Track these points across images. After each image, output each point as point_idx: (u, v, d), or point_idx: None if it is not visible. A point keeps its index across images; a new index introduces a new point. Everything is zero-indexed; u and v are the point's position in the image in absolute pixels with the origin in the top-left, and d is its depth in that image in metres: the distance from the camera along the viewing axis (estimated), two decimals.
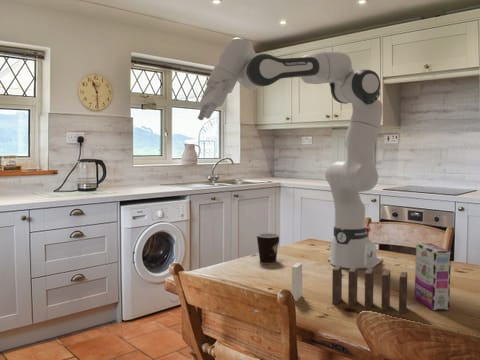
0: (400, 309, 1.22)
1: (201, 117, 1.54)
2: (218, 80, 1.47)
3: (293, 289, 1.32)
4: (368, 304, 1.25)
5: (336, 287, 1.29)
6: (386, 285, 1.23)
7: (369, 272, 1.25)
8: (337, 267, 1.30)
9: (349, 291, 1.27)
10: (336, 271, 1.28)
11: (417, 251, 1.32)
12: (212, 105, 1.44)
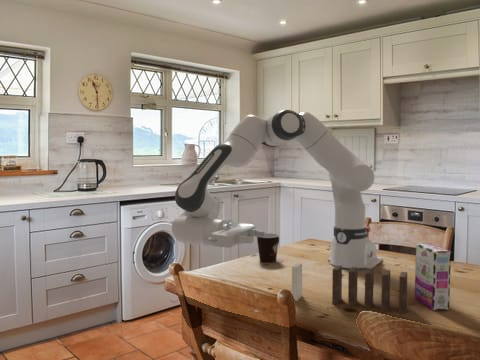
0: (400, 309, 1.22)
1: (261, 234, 1.42)
2: None
3: (293, 289, 1.32)
4: (368, 304, 1.25)
5: (336, 287, 1.29)
6: (386, 285, 1.23)
7: (369, 272, 1.25)
8: (337, 267, 1.30)
9: (349, 291, 1.27)
10: (336, 271, 1.28)
11: (417, 251, 1.32)
12: (237, 241, 1.34)
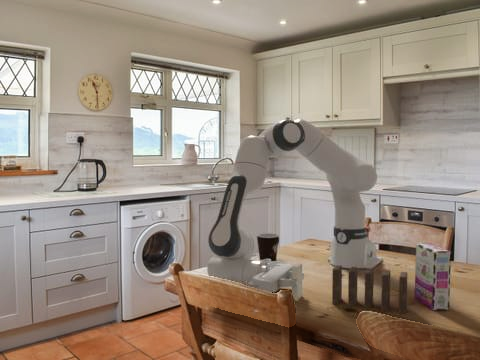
0: (400, 309, 1.22)
1: None
2: None
3: (293, 289, 1.32)
4: (368, 304, 1.25)
5: (336, 287, 1.29)
6: (386, 285, 1.23)
7: (369, 272, 1.25)
8: (337, 267, 1.30)
9: (349, 291, 1.27)
10: (336, 271, 1.28)
11: (417, 251, 1.32)
12: (281, 284, 1.31)
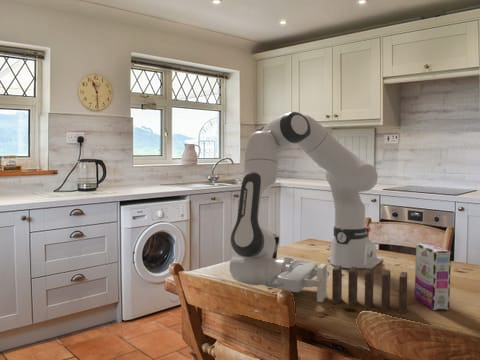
0: (400, 309, 1.22)
1: None
2: None
3: (318, 290, 1.31)
4: (368, 304, 1.25)
5: (336, 287, 1.29)
6: (386, 285, 1.23)
7: (369, 272, 1.25)
8: (337, 267, 1.30)
9: (349, 291, 1.27)
10: (336, 271, 1.28)
11: (417, 251, 1.32)
12: (304, 284, 1.28)
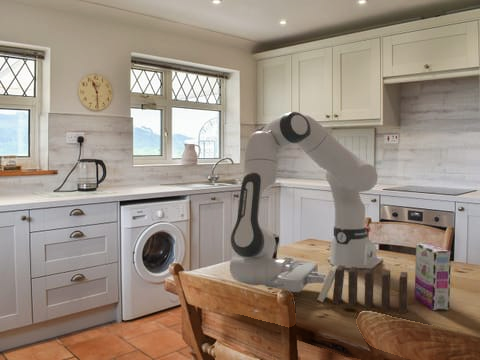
0: (400, 309, 1.22)
1: None
2: None
3: (323, 290, 1.30)
4: (368, 304, 1.25)
5: (338, 287, 1.28)
6: (386, 285, 1.23)
7: (369, 272, 1.25)
8: (340, 268, 1.30)
9: (349, 291, 1.27)
10: (339, 271, 1.28)
11: (417, 251, 1.32)
12: (308, 280, 1.32)
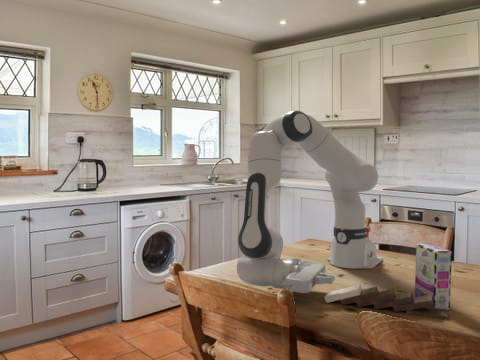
0: (410, 313, 1.21)
1: None
2: None
3: (335, 296, 1.29)
4: (378, 306, 1.24)
5: (358, 299, 1.26)
6: (421, 306, 1.20)
7: (411, 299, 1.22)
8: (376, 292, 1.26)
9: (371, 299, 1.25)
10: (374, 295, 1.24)
11: (417, 251, 1.32)
12: (317, 281, 1.31)
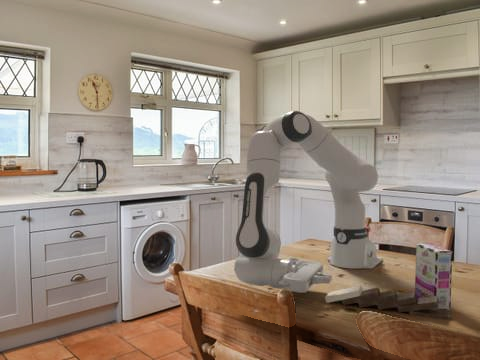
0: (413, 313, 1.20)
1: None
2: None
3: (336, 297, 1.29)
4: (382, 306, 1.24)
5: (359, 300, 1.26)
6: (426, 307, 1.19)
7: (415, 299, 1.21)
8: (378, 293, 1.26)
9: (372, 300, 1.24)
10: (375, 296, 1.24)
11: (417, 251, 1.32)
12: (314, 281, 1.31)
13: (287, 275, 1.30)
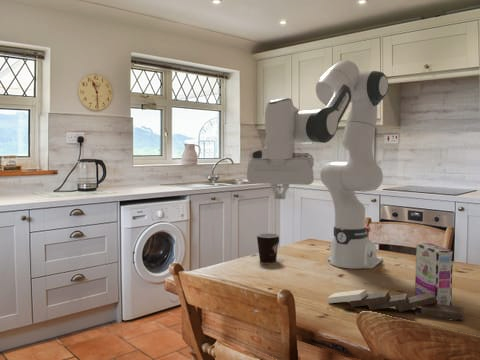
0: (418, 315, 1.20)
1: None
2: (290, 156, 1.32)
3: (337, 298, 1.28)
4: (402, 308, 1.21)
5: (367, 303, 1.24)
6: (450, 316, 1.16)
7: None
8: (387, 297, 1.24)
9: (383, 303, 1.22)
10: (384, 300, 1.22)
11: (417, 251, 1.32)
12: (287, 185, 1.35)
13: None
